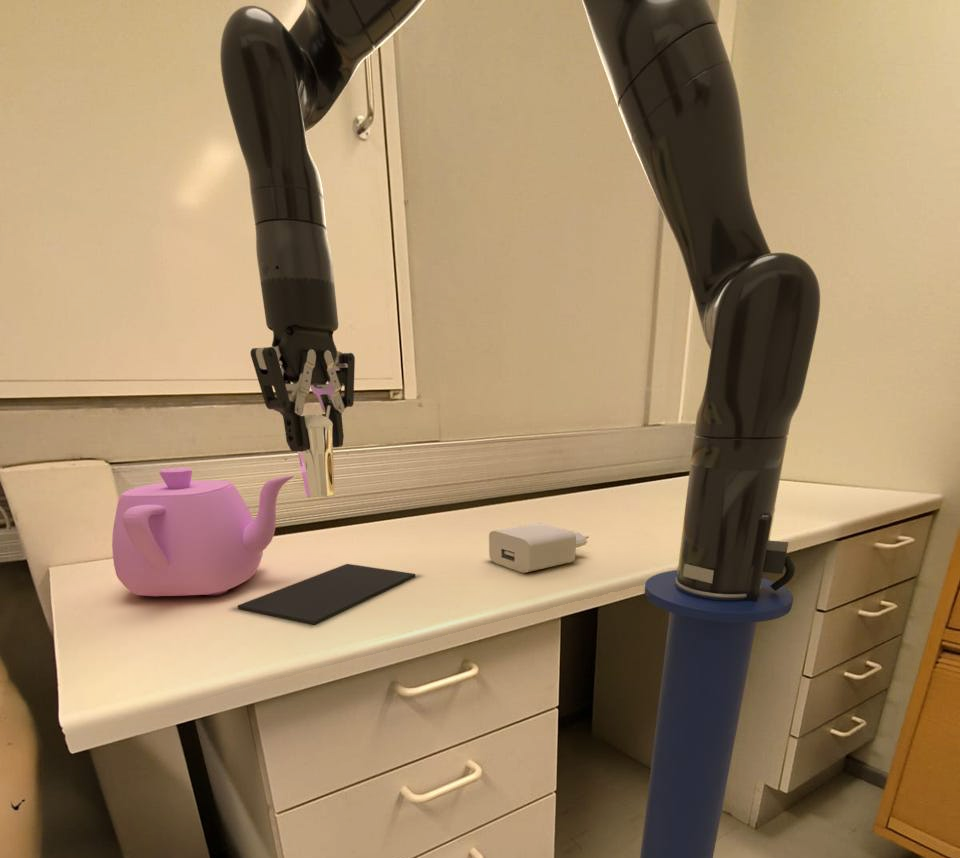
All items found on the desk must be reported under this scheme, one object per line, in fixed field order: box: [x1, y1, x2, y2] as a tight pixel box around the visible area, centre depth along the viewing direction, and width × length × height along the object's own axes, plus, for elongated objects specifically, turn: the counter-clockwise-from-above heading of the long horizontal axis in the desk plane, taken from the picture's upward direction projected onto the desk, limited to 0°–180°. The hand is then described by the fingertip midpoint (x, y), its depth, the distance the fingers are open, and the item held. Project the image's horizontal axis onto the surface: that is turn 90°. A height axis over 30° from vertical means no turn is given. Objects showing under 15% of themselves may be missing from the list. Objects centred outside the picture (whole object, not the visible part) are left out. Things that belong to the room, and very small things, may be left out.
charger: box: [488, 522, 590, 574], centre depth 87 cm, size 5×9×15 cm
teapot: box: [111, 467, 295, 597], centre depth 74 cm, size 23×21×15 cm
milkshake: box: [297, 406, 336, 499], centre depth 68 cm, size 5×5×10 cm
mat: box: [237, 563, 416, 626], centre depth 75 cm, size 12×20×1 cm, turn 152°
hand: (317, 448), depth 68 cm, fingers closed on milkshake, 5 cm apart
